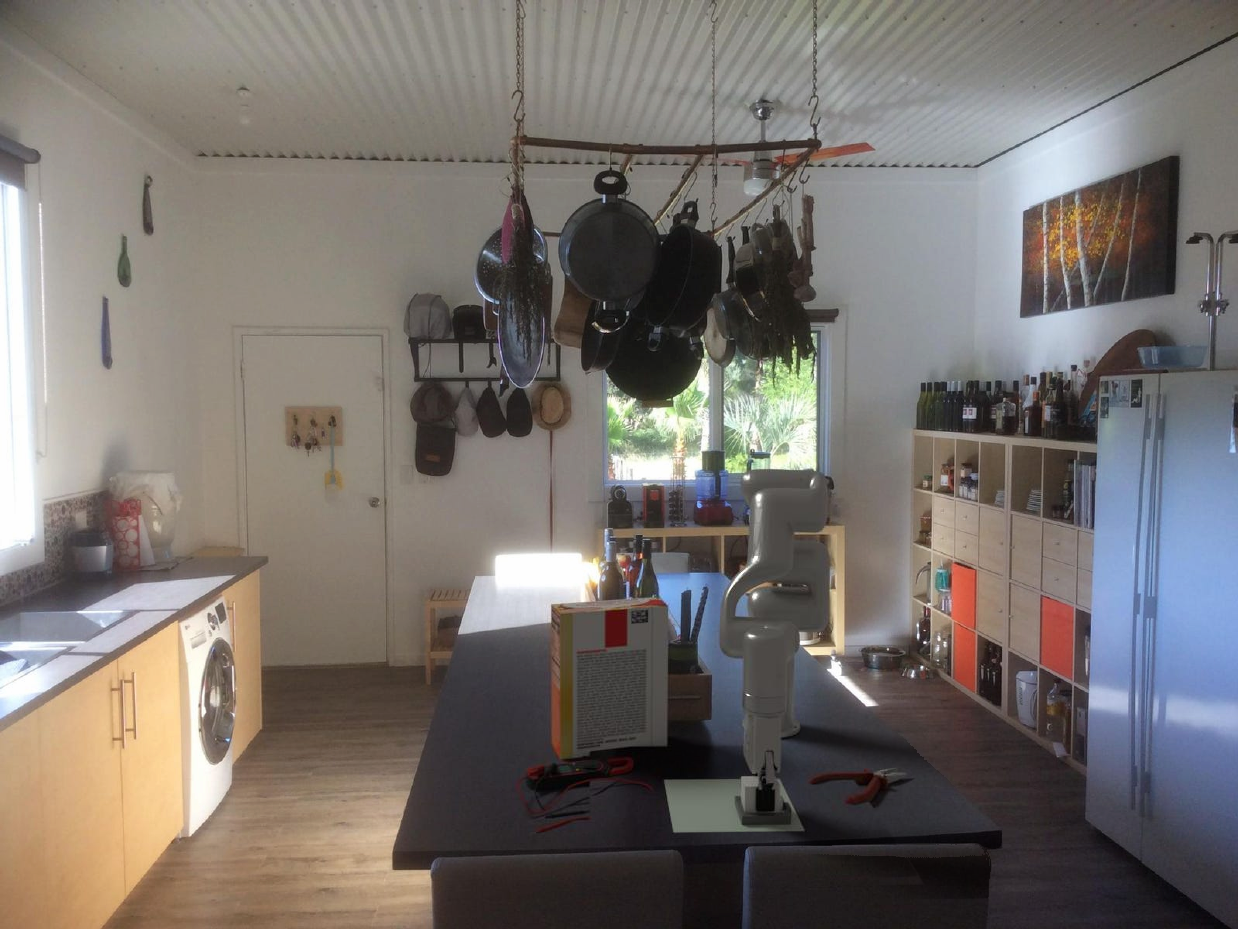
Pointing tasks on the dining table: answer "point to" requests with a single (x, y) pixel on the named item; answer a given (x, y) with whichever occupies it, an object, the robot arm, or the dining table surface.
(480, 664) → the dining table surface
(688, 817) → the board
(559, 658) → the cereal box
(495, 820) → the dining table surface
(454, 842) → the dining table surface
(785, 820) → the frame
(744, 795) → the plug
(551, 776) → the digital clamp meter
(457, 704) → the dining table surface
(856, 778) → the pliers
